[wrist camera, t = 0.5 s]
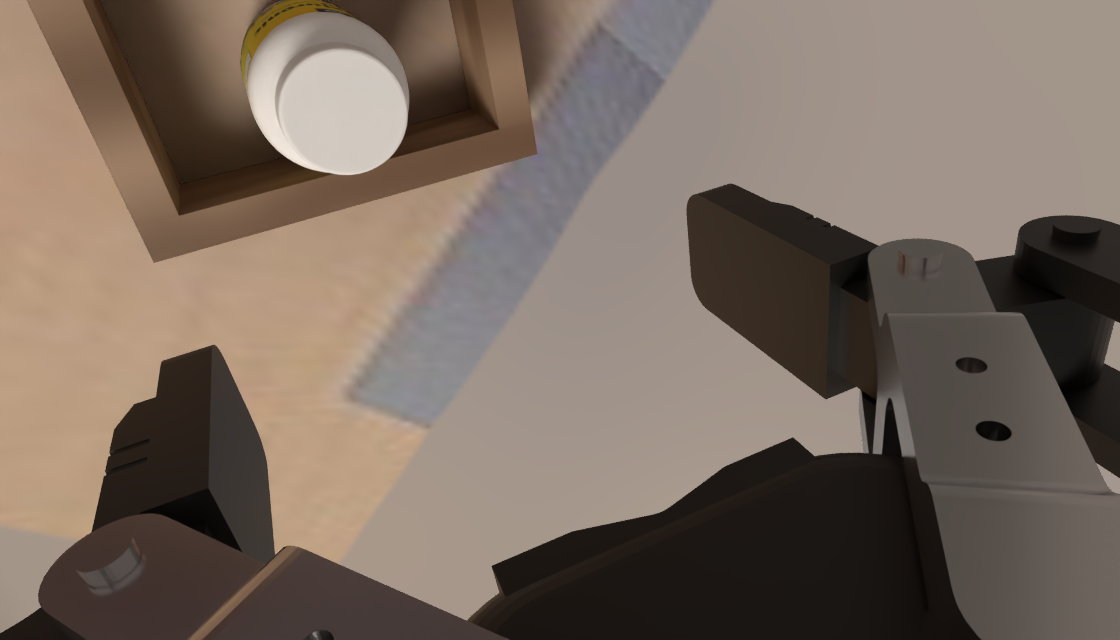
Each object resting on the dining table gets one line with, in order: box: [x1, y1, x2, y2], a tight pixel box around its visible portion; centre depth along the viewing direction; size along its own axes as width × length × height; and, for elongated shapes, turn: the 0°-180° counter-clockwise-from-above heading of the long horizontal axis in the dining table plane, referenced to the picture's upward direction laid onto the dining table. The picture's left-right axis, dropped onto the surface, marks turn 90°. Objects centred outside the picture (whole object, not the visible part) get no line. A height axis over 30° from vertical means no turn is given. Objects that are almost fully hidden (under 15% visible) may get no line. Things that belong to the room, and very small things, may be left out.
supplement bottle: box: [241, 0, 409, 175], centre depth 27 cm, size 5×5×10 cm
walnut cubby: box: [27, 0, 537, 263], centre depth 29 cm, size 12×16×4 cm
